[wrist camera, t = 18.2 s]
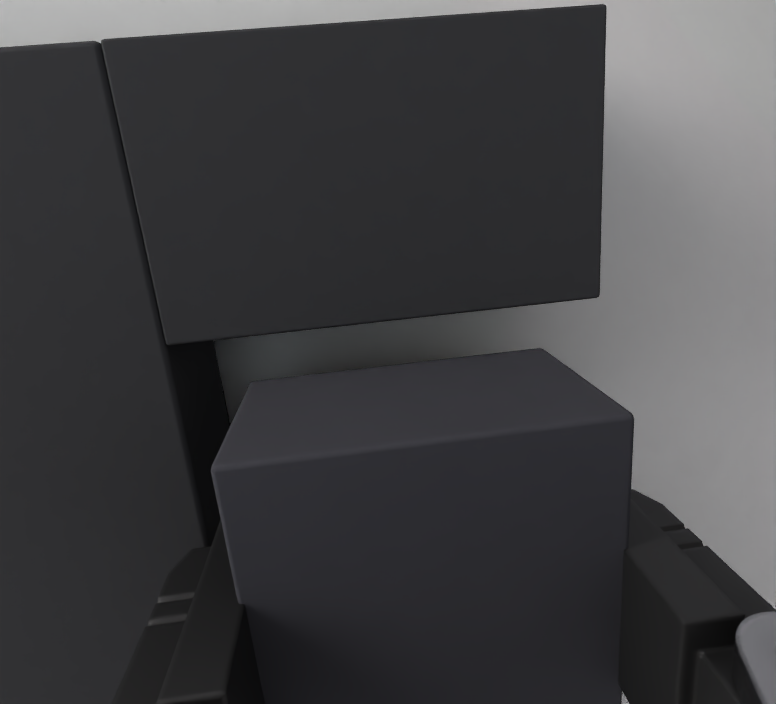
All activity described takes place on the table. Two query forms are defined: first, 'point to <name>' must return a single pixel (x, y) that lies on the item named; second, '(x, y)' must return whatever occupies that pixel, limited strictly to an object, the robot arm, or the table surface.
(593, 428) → the small black box
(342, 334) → the table surface
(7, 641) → the big notched pad
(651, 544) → the robot arm
